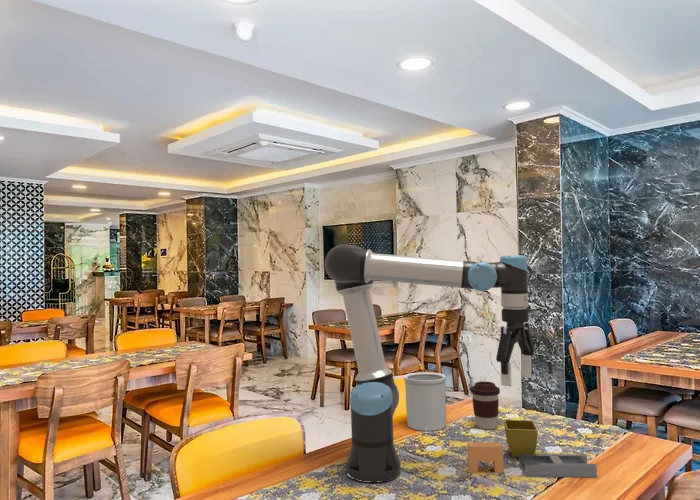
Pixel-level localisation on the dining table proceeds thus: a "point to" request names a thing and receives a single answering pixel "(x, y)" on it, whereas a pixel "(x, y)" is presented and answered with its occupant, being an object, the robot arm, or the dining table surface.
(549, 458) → the rail
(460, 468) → the dining table surface
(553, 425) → the dining table surface
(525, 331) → the robot arm
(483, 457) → the brown notched block
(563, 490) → the dining table surface
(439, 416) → the utensil holder
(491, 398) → the coffee cup
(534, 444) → the flower pot
